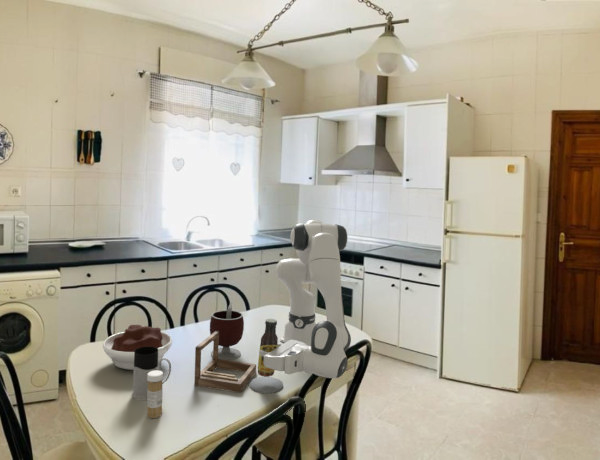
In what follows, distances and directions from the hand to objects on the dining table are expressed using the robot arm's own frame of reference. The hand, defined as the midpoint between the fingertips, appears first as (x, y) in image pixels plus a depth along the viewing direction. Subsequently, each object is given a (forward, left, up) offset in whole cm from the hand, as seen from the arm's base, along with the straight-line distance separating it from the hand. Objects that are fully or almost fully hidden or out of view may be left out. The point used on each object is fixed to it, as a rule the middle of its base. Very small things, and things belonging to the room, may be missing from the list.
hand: (265, 348), depth 163 cm
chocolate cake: (-2, -51, -14) cm, 53 cm away
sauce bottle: (0, +1, -9) cm, 9 cm away
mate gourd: (-23, -23, -14) cm, 35 cm away
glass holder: (+19, -33, -14) cm, 41 cm away
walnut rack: (-1, -15, -13) cm, 20 cm away
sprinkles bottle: (+30, -26, -14) cm, 42 cm away
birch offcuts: (+4, -15, -13) cm, 20 cm away
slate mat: (0, +1, -13) cm, 14 cm away
